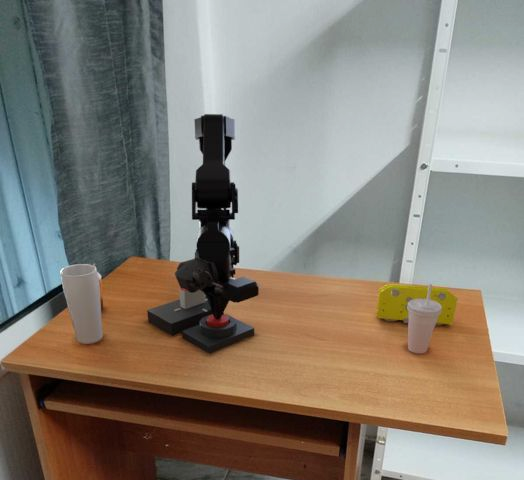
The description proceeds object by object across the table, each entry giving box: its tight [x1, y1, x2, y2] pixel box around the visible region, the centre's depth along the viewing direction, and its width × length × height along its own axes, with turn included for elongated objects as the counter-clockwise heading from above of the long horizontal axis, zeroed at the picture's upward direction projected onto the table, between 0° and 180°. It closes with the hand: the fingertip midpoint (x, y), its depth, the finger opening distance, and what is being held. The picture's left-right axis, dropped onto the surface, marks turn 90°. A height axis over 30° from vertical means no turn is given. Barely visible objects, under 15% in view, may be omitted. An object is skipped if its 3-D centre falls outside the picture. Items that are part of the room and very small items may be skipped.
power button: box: [207, 314, 229, 327], centre depth 109 cm, size 4×4×2 cm
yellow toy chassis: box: [376, 283, 458, 326], centre depth 117 cm, size 16×6×8 cm, turn 79°
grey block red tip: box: [179, 288, 205, 309], centre depth 117 cm, size 6×2×4 cm, turn 134°
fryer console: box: [146, 296, 225, 337], centre depth 117 cm, size 14×10×3 cm
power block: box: [181, 313, 255, 355], centre depth 110 cm, size 12×9×4 cm
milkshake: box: [93, 263, 104, 313], centre depth 120 cm, size 4×5×10 cm
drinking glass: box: [60, 263, 104, 345], centre depth 106 cm, size 7×7×15 cm
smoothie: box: [407, 283, 442, 354], centre depth 104 cm, size 6×6×14 cm
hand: (217, 318), depth 109 cm, fingers closed, pressing on power button
